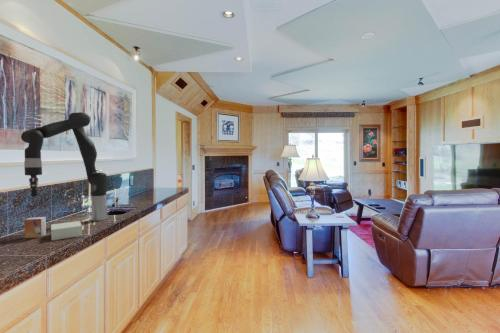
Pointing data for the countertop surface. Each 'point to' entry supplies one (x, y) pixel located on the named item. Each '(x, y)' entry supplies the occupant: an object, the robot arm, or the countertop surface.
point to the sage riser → (66, 230)
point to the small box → (35, 227)
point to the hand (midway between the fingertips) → (34, 195)
